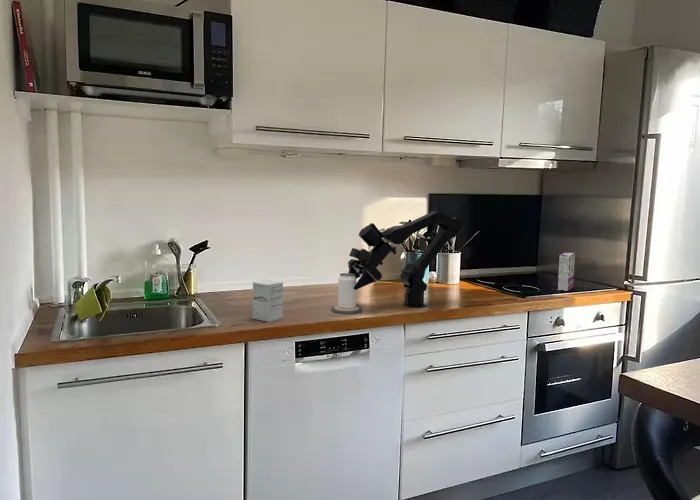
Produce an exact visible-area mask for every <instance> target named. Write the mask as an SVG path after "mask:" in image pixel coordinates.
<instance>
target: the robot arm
mask: <svg viewBox="0 0 700 500" xmlns="http://www.w3.org/2000/svg"><path fill="white" fill-rule="evenodd" d="M434 224H435V225H437V226H438V230H437V233H436V235H435V236H434V238H433V239H432V240H431V242H430V243H429V244H428V246H427V247H425V249H424V250H423V252H422V253H421V254H420V256H419V257H418V258H417V260H416V261H415V262H413V263H411V262H407V263H406V265H405V266H404V268H402V270H400V272H401V273H400V275H399V277H400V281H401V283H402V284H403V287H404V289H405V293H404V302H403V305H405V306H408V307H410V308H418V307H426V306H427V305H426V304H425V292H427V289H428V284H427V283H426V282H425V281H424V278H425V274H426V271H427V269H428V267H429V266H430V264H431V263H432V262H433V261H434V259H435V258H436V257H437V256H438V254H439V253H440V252H441V250H442V249H443V248H444V247H445V245H446V244H447V242H449V241H450V240H452V239H453V238H455V237H457V236H458V235H459V234H460V233H461V232H462V230H463V229H464V226H463V225H464V224H463V221H462V220H461V219H460V218H457V217H451V216H449V215H446V214H443V213H442V212H440V211H436V210H435V211H433V210H432V211H430V212H428V213H426V214H424V215H422V216H420V217H418V218H416V219H413V220H411V221H410V222H407V223H405V224H400V225H395V226H391V227H388V228H386V229H385V230H384V231H380V230H379V229H378V228H377V226H376V225H375V223H372V222H370V223H369V224H368V225H366V226H365V227H363V228H362V229H361V230H360V231H359V233H358V237H359V238H360V239H362V241H363V242H364V243H366V245H367V246H368V247H372V249H371V250H370V251H368V250H367V249H365V248H360V249H358V248H354V247H352V248H351V251H349V257H352V259H351V258H350V260H348V262H347V266H348V272H347V273H351V274H355V277H356V280H357V279H358V280H357V281H356V284H355V286H354V289H355V290H356V291H357V290H359V289H361V288H363V287H366V286H369V285H370V284H373V283H376V282H379V281H380V280H382V278H383V273H381V271H379V269H378V267H379V266H382V265H384V263H383V261H384V260H385V258H387V257H388V256H389V254H392V255H396V254H397V249H396V248H397V247H396V246H392V245H393V244H394V245H400V244H403V243H404V242H405V241H406V240H407V239H409V237H410V236H411V235H413V234H415V233H417V232H419V231H421V230H424V229H425V228H427V227H430V226H432V225H434ZM391 244H392V245H391ZM354 258H355V259H354Z"/></svg>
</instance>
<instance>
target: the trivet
mask: <svg viewBox="0 0 700 500" xmlns="http://www.w3.org/2000/svg"><path fill="white" fill-rule="evenodd" d="M362 311H363V308H362V307H360V306H359V305H356V307H355V308H353V309H342V308H339V307H338V305H334V306H332V307H331V312H333V313H336V314H340V315H356V314H359V313H362Z"/></svg>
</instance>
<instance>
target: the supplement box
mask: <svg viewBox="0 0 700 500" xmlns="http://www.w3.org/2000/svg"><path fill="white" fill-rule="evenodd" d="M283 293H284V281H278V280H272V279H261V280H258V281H253V282H252V319H253V320H258V321H263V322H266V323H271V322H274V321H279V320H282V319H283V310H284V308H283V307H284V305H283V303H284V301H283V300H284V298H283V297H284V294H283Z"/></svg>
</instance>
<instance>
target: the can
mask: <svg viewBox="0 0 700 500" xmlns="http://www.w3.org/2000/svg"><path fill="white" fill-rule="evenodd" d="M337 280H338V282H337V283H338V285H337V306H338V307H339V308H342V309H353V308H355V307H356V306H357V290H355V289H354V286H355V284H356V283H357V279H356V277H355V274H351V273H348V272H344V273H340V274H339V276H338V279H337Z"/></svg>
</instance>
